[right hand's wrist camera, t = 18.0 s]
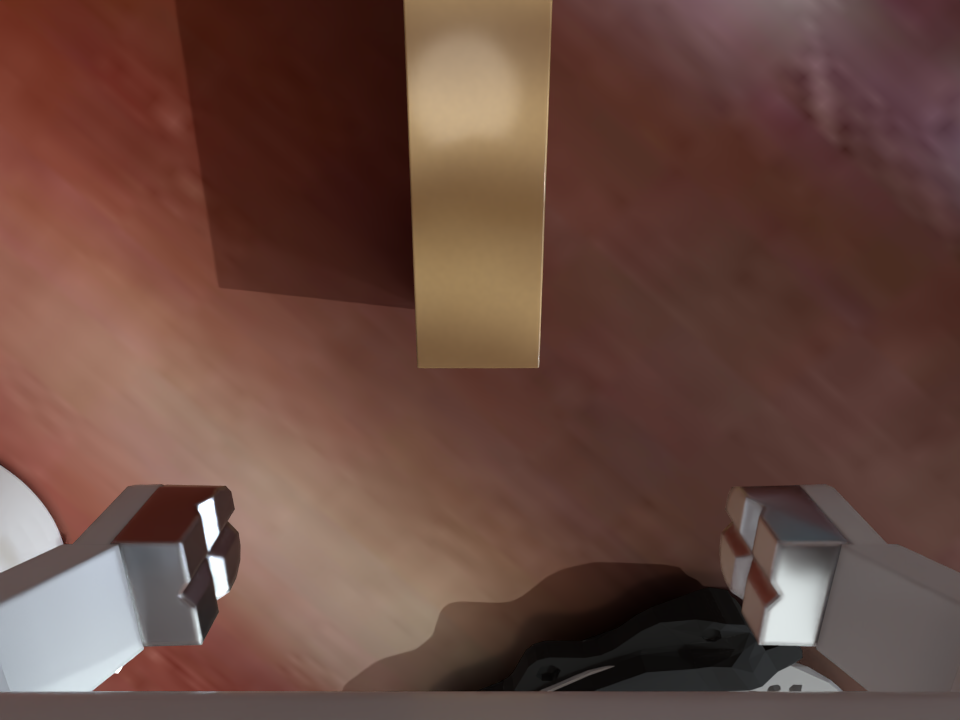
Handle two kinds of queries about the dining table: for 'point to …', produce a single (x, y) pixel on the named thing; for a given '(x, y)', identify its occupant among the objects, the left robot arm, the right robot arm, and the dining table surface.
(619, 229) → the dining table surface
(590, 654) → the brake disc
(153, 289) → the dining table surface
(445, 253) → the bar
